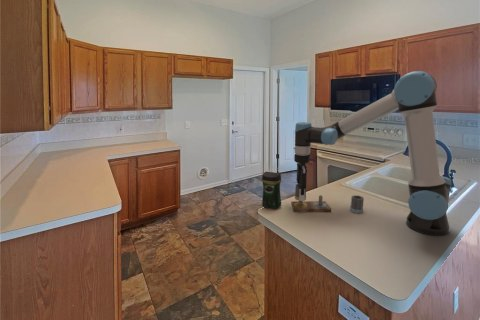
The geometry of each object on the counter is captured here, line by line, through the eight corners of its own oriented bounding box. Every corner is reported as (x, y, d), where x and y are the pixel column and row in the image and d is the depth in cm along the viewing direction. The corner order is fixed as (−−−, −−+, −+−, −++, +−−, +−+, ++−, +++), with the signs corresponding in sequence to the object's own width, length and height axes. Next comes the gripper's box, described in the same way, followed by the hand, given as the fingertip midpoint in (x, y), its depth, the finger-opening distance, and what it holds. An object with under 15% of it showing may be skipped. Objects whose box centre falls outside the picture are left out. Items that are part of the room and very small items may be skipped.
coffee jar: (282, 205, 142) (283, 171, 138) (277, 210, 135) (277, 175, 131) (265, 202, 146) (266, 169, 142) (260, 207, 140) (259, 173, 135)
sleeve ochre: (308, 199, 136) (309, 186, 134) (300, 201, 133) (301, 188, 131) (300, 195, 141) (300, 183, 139) (292, 198, 138) (292, 185, 136)
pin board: (325, 203, 142) (326, 191, 141) (330, 211, 132) (331, 198, 131) (291, 204, 143) (291, 192, 142) (294, 211, 133) (294, 199, 132)
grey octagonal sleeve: (365, 211, 132) (366, 197, 131) (358, 213, 130) (359, 200, 128) (354, 207, 137) (356, 194, 135) (348, 210, 134) (349, 196, 133)
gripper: (291, 150, 141) (290, 191, 146) (297, 158, 123) (296, 205, 128) (306, 150, 140) (304, 191, 146) (314, 158, 122) (312, 205, 128)
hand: (300, 198), depth 137 cm, fingers closed on sleeve ochre, 6 cm apart
